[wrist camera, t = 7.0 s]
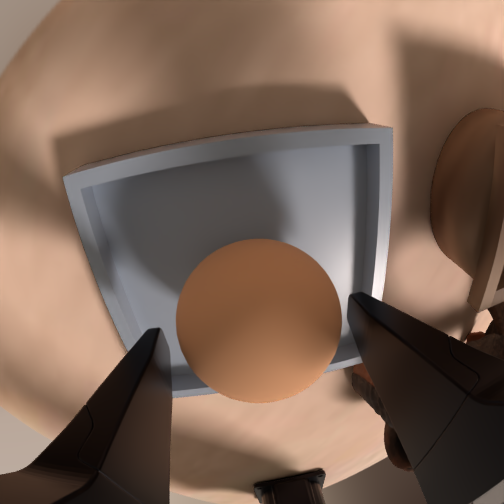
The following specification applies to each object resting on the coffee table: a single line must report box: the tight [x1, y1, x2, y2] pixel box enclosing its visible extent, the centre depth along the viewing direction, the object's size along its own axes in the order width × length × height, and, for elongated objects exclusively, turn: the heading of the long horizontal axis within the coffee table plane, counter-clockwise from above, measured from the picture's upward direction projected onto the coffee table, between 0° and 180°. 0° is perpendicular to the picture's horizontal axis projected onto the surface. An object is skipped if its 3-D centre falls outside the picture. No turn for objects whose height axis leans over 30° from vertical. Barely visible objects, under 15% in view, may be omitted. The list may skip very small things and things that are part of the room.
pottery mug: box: [352, 301, 504, 472], centre depth 14 cm, size 12×10×8 cm
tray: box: [63, 123, 393, 398], centre depth 11 cm, size 10×10×2 cm
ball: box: [176, 239, 342, 403], centre depth 9 cm, size 5×5×5 cm
